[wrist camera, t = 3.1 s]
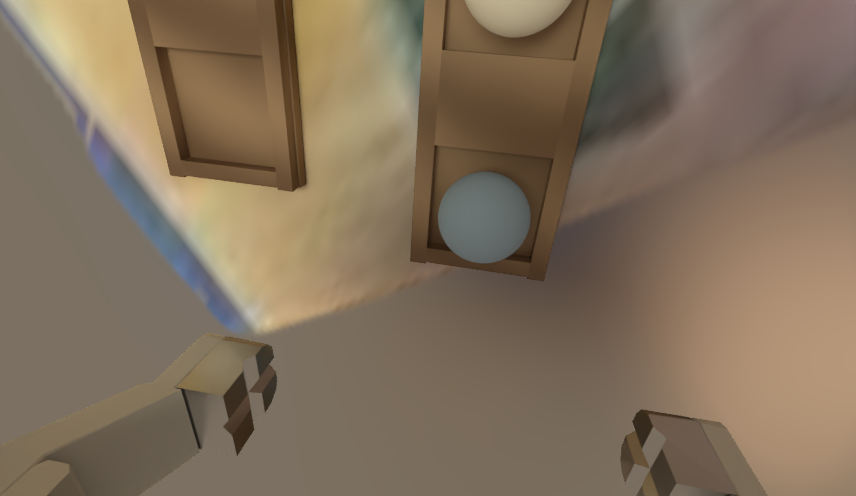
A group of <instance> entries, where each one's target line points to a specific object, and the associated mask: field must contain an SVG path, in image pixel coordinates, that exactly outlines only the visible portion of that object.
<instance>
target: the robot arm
mask: <svg viewBox="0 0 856 496" xmlns="http://www.w3.org/2000/svg"><path fill="white" fill-rule="evenodd" d="M273 358H274V354H273V349H272V346H270V345H268V344H263V343H258V342H253V341H249V340H243V339H239V338H234V337H227V336H222V335H216V334H212V333H207V334H205V335H202V336H201V337H199V338H198V339H197V340H196V341H195V342H194V343H193V344H192V345H191V346H190V347H189V348H188V349H187V350H186V351H185V352H184V353H183V354H182V355H181V356H180V357H179V358H177V359H176V361H174V362H173V363H172V364H171V365H170V366H169V367H168V368H167V369H166V370H165V371H164V372H163V373H162V374H161V375H160V376H159V377H158V378H157V379H156V380H155V381H153V382H152V383H143V384H140V385H138V386H136V387H133V388H131V389H129V390H126V391H124V392H122V393H120V394H117V395H115V396H113V397H110V398H108V399H106V400H103V401H101V402H99V403H96V404H94V405H92V406H89V407H88V408H85V409H83V410H80V411H78V412H76V413H74V414H71V415H69V416H66V417H64V418H62V419H59V420H57V421H55V422H53V423H50V424H48V425H46V426H43V427H41V428H39V429H36V430H34V431H32V432H30V433H27V434H25V435H23V436H20V437H18V438H16V439H14V440H12V441H9V442H6V443H4V444H2V445H0V496H139V495H140V494H141V493H143V492H144V491H146V490H147V489H148V488H150V487H151V486H153V485H154V484H156V483H157V482H158V481H160V480H161V479H163V478H164V477H165V476H167V475H168V474H170V473H171V472H173V471H174V470H175V469H177V468H178V467H180V466H181V465H182V464H184V463H185V462H186V461H188V460H189V459H191V458H192V457H193V456H195V455H196V454H198V453H199V450H203V451H208V452H214V453H220V454H225V455H231V456H238V454H239V453H240V451H241V450H242V448H243V447H244V445H245V443H246V442H247V440H248V439H249V437H250V436H251V434H252V433H253V431H254V423H253V420H254V419H256V418H258V417H259V416H261V415H263V414H264V413H265V412H266V411H267V409H268V407H269V406H270V404H271V402H272V400H273V397H274V394H275V391H276V386H277V376H276V371H275V370H274V369H273V368H272V367H271V366H270V365H269V364H270V363H271V361H272V360H273ZM632 422H633V425H634V428H635V431H634V432H632V433H630V434H628V435H626V437H625V439H624V442H623V444H622V447H621V458H620V461H621V468H622V469H621V470H622V474H623V478H624V481H625V484H626V485H627V486H628V487H629V488H630V490H631V491H632V492H633V493H634V494H635V495H636V496H767V494H766V492H765V491H764V489H763V488H762V486H761V484H760V482H759V481H758V479H757V478H756V476H755V474H754V473H753V471H752V469H751V468H750V466H749V464H748V463H747V461H746V459H745V458H744V456H743V454H742V453H741V451H740V449H739V448H738V446H737V444H736V443H735V441H734V439H733V438H732V436H731V435H730V433H729V431H728V430H727V428H726V427H725V426H724V425H722V424H721V423H720V422H714V421H708V420H702V419H696V418H689V417H684V416H678V415H672V414H666V413H659V412H654V411H648V410H642V409H641V410H640V411H639V412H637V413H636V415H635V417H634V419H633V421H632Z"/></svg>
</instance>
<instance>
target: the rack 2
mask: <svg viewBox="0 0 856 496" xmlns="http://www.w3.org/2000/svg"><path fill="white" fill-rule="evenodd" d="M612 1H613V0H572V1H571V2H570V4H569V5H568V7H567V8H566V10H565V11H564V12H563V13H562V14H561V16H560V17H558V18H557V19H556V20H555V21H554V22H553V23H552V24H550V25H549V26H548V27H546V28H545V29H543V30H541V31H539V32H537V33H535V34H532V35H529V36H525V37H518V38H510V37H504V36H500V35H497V34H494V33H492V32H490V31H488V30H487V29H486V28H484V27H483V26H482V25H481V24H479V23H478V22H477V20H476V19H475V18H474V17H473V16H472V14H471V12H470V11H469V9H468V7H467V5H466V3H465V0H425V6H424V24H423V42H422V60H421V78H420V96H419V114H418V132H417V150H416V168H415V186H414V204H413V222H412V240H411V258H410V261H412V262H419V263H426V262H430V263H437V264H444V265H450V266H457V267H464V268H471V269H477V270H484V271H491V272H497V273H504V274H511V275H518V276H525V277H527V279H533V280H539V281H544V278H545V273H546V269H547V265H548V261H549V257H550V253H551V249H552V245H553V241H554V237H555V233H556V229H557V225H558V221H559V216H560V212H561V208H562V204H563V200H564V196H565V192H566V188H567V184H568V180H569V176H570V172H571V168H572V164H573V159H574V155H575V151H576V147H577V143H578V139H579V135H580V131H581V127H582V123H583V119H584V115H585V111H586V107H587V102H588V98H589V94H590V90H591V86H592V82H593V78H594V74H595V70H596V66H597V62H598V58H599V54H600V50H601V45H602V41H603V37H604V33H605V29H606V25H607V21H608V17H609V13H610V9H611V5H612ZM483 171H486V172H494V173H498V174H501V175H504V176H506V177H508V178H509V179H511V180H512V181H513V182H515V183H516V184H517V185H518V186H519V187H520V188H521V190H522V191H523V193H524V194H525V196H526V198H527V200H528V204H529V207H530V213H531V220H530V227H529V231H528V233H527V236H526V238H525V240H524V242H523V243H522V244H521V246H520V247H519V248H518V249H517V250H516V251H515V252H514V253H513V254H511V255H510V256H508V257H507V258H505V259H502V260H500V261H497V262H493V263H475V262H471V261H467V260H465V259H463V258H461V257H460V256H458V255H457V254H455V253H454V252H453V251H452V250H451V249H450V248H449V247H448V246H447V244H446V243H445V241H444V239H443V238H442V235H441V233H440V229H439V224H438V212H439V206H440V203H441V200H442V198H443V196H444V195H445V193H446V192H447V190H448V189H449V188H450V186H451V185H452V184H454V183H455V182H456V181H457V180H459V179H460V178H462V177H464V176H466V175H468V174H471V173H475V172H483Z"/></svg>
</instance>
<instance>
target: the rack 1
mask: <svg viewBox="0 0 856 496" xmlns="http://www.w3.org/2000/svg"><path fill="white" fill-rule="evenodd" d="M128 4H129V8H130V12H131V16H132V20H133V24H134V28H135V32H136V37H137V41H138V45H139V49H140V53H141V57H142V61H143V65H144V69H145V73H146V77H147V81H148V85H149V90H150V94H151V98H152V102H153V106H154V110H155V114H156V118H157V122H158V126H159V130H160V134H161V138H162V143H163V147H164V151H165V155H166V159H167V163H168V167H169V171H170V175H171V176H179V177H186V176H193V177H200V178H208V179H215V180H223V181H230V182H238V183H246V184H253V185H261V186H268V187H276V188H278V190H284V191H292V192H293V191H294V190H296V189H297V188H299V187H302V186H304V185H305V184H306V177H305V164H304V152H303V139H302V126H301V114H300V101H299V89H298V76H297V64H296V51H295V38H294V26H293V13H292V1H291V0H128Z"/></svg>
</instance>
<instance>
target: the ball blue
mask: <svg viewBox="0 0 856 496" xmlns="http://www.w3.org/2000/svg"><path fill="white" fill-rule="evenodd" d="M530 220H531V213H530V207H529V204H528V200H527V198H526V196H525V194H524V193H523V191H522V190H521V188H520V187H519V186H518V185H517V184H516V183H515V182H513V181H512V180H511V179H509V178H508V177H506V176H504V175H501V174H498V173H494V172H486V171H483V172H475V173H471V174H468V175H466V176H464V177H462V178H460V179H459V180H457V181H456V182H455V183H454V184H452V185H451V186H450V188H449V189H448V190H447V192H446V193H445V195H444V196H443V198H442V200H441V203H440V206H439V212H438V224H439V229H440V233H441V235H442V238H443V239H444V241H445V243H446V244H447V246H448V247H449V248H450V249H451V250H452V251H453V252H454V253H455V254H457V255H458V256H460V257H461V258H463V259H465V260H467V261H471V262H475V263H493V262H497V261H500V260H502V259H505V258H507V257H508V256H510V255H511V254H513V253H514V252H515V251H516V250H517V249H518V248H519V247H520V246H521V244H522V243H523V242H524V240H525V238H526V236H527V233H528V231H529V227H530Z"/></svg>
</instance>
